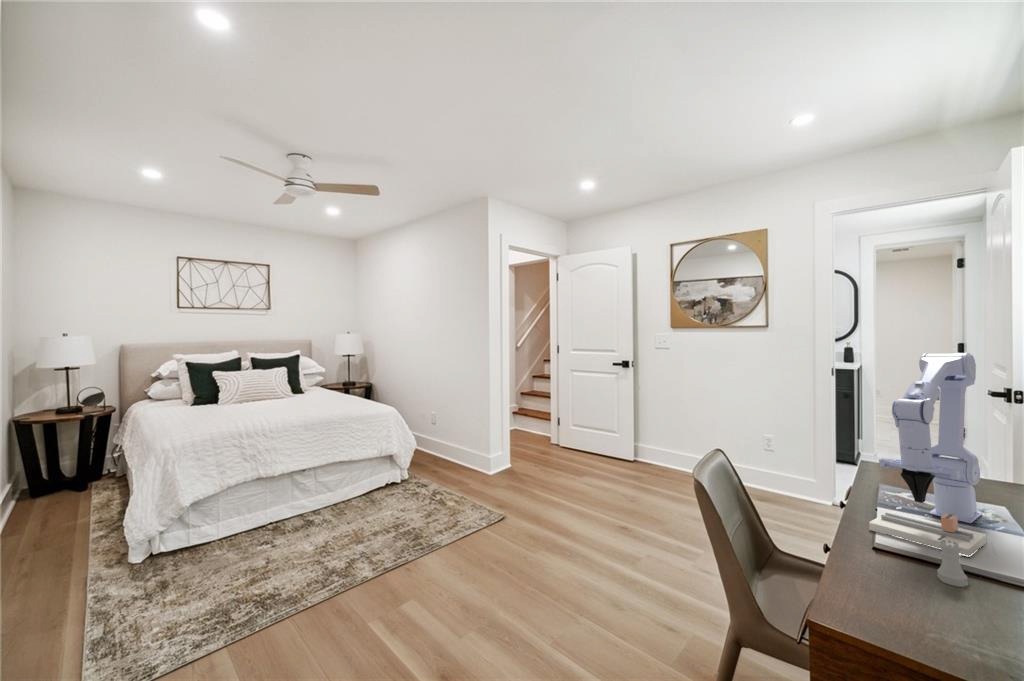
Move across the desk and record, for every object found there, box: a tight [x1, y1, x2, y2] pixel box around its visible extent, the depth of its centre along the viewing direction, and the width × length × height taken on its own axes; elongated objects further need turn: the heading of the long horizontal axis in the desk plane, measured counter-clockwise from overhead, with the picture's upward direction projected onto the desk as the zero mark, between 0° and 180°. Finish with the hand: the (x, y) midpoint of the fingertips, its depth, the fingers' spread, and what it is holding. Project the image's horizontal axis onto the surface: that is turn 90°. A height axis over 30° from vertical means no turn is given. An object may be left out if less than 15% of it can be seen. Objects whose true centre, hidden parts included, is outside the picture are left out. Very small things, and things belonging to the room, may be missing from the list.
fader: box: [940, 514, 959, 533], centre depth 100 cm, size 3×2×4 cm, turn 119°
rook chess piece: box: [937, 540, 969, 588], centre depth 85 cm, size 4×4×8 cm
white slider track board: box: [868, 510, 988, 556], centre depth 104 cm, size 12×18×3 cm, turn 29°
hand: (920, 501), depth 104 cm, fingers closed
